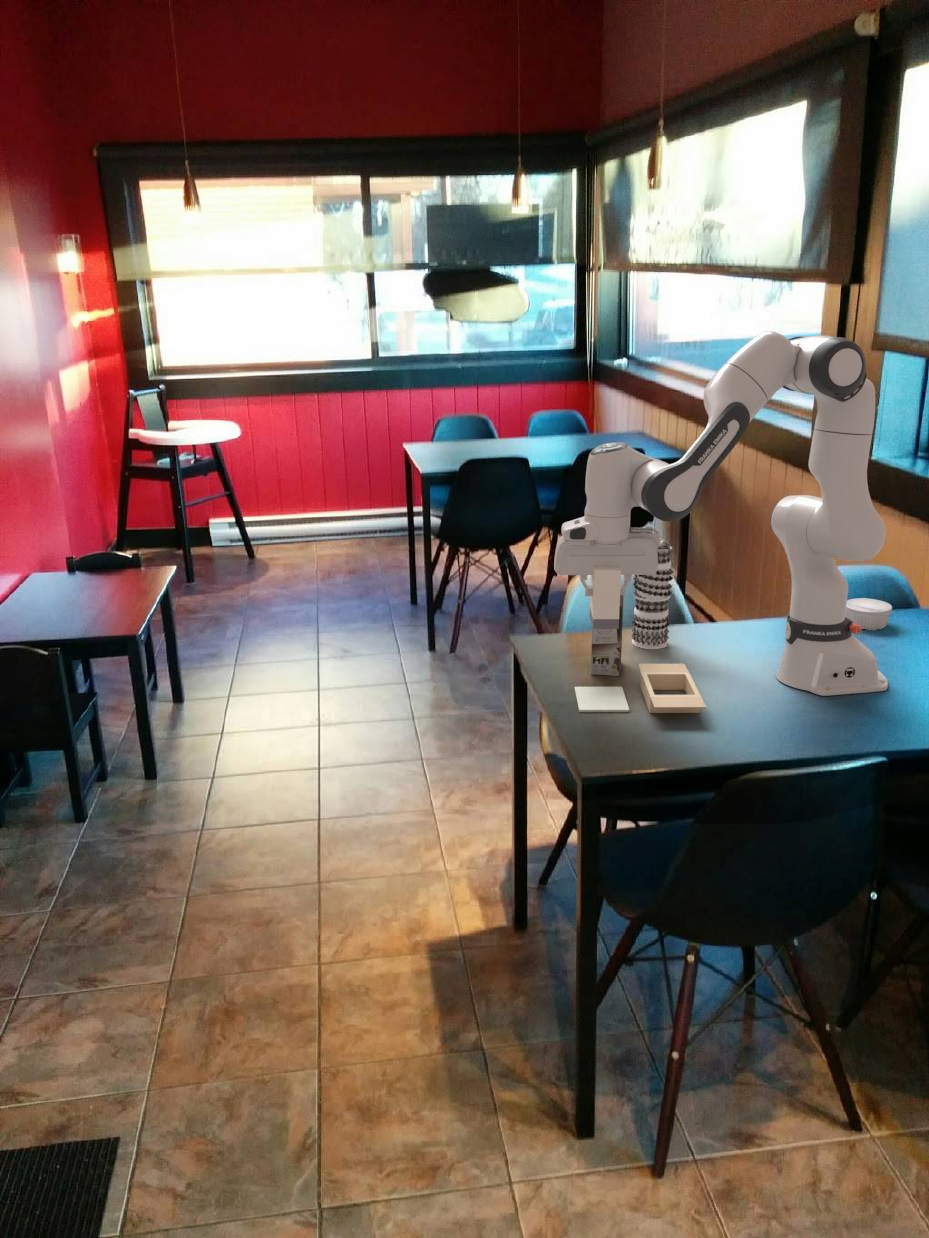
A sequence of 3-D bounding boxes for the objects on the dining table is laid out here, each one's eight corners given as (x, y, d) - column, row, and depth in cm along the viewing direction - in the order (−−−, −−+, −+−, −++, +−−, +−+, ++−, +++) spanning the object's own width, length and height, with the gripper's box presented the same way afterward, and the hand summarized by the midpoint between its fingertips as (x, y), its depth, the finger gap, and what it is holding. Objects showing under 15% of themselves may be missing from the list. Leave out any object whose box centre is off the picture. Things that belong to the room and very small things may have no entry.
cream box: (613, 615, 204) (616, 559, 200) (618, 628, 196) (620, 570, 193) (589, 616, 204) (591, 559, 200) (593, 628, 196) (594, 570, 193)
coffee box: (619, 676, 218) (622, 606, 213) (590, 674, 219) (592, 604, 214) (621, 661, 226) (624, 593, 221) (593, 660, 227) (595, 592, 222)
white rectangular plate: (621, 688, 211) (621, 686, 211) (629, 711, 200) (629, 709, 200) (574, 688, 211) (574, 686, 211) (579, 712, 200) (579, 709, 200)
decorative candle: (623, 645, 236) (627, 542, 228) (640, 634, 243) (644, 534, 235) (659, 652, 231) (664, 548, 223) (675, 641, 239) (681, 539, 231)
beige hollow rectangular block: (683, 678, 216) (684, 663, 215) (705, 723, 194) (706, 706, 193) (637, 678, 216) (637, 663, 215) (653, 723, 194) (654, 706, 193)
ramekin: (846, 631, 244) (848, 610, 242) (837, 616, 254) (840, 597, 253) (894, 633, 242) (897, 612, 240) (884, 618, 253) (886, 598, 251)
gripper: (658, 523, 197) (654, 590, 201) (554, 524, 197) (553, 591, 202) (663, 531, 191) (659, 600, 195) (556, 531, 191) (554, 600, 196)
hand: (604, 595), depth 198 cm, fingers closed on cream box, 5 cm apart
